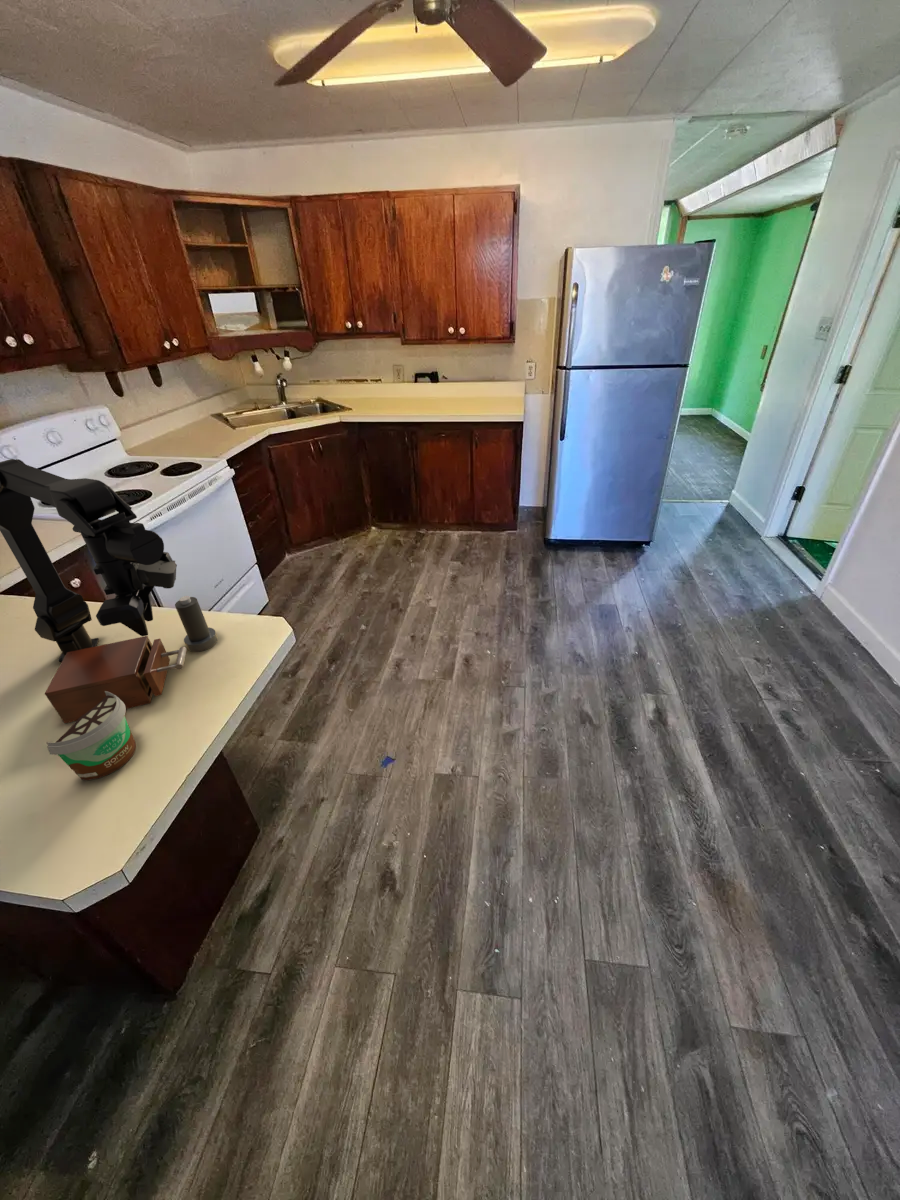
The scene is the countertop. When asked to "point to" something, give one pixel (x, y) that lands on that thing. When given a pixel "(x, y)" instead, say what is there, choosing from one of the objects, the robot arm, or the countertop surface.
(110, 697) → the food container
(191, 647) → the disc
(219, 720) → the countertop surface
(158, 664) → the drawer
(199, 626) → the pepper mill
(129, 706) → the cabinet
